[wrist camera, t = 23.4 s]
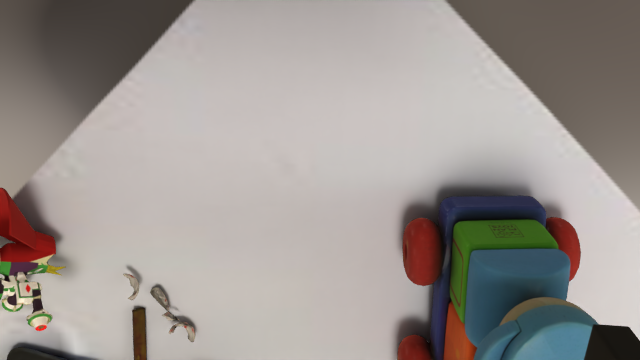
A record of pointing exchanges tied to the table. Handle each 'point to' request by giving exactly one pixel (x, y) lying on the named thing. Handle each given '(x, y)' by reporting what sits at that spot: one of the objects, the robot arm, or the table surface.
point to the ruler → (139, 334)
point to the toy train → (496, 282)
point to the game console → (30, 355)
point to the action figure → (23, 262)
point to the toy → (163, 301)
